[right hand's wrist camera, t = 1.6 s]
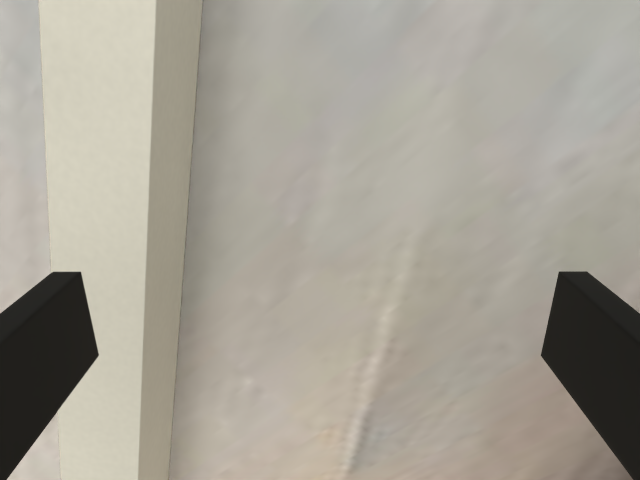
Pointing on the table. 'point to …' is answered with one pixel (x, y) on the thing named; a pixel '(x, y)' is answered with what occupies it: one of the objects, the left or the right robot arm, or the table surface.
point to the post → (121, 215)
